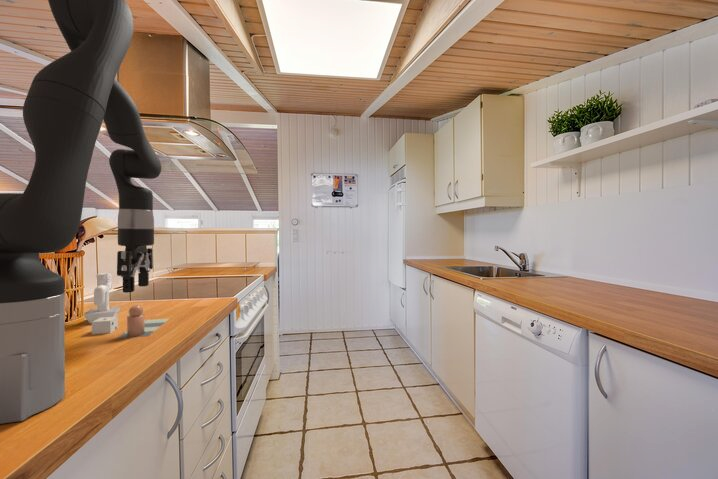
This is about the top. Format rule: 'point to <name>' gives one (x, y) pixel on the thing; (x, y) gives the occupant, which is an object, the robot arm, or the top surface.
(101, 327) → the die
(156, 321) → the board
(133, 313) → the pawn
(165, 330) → the top surface
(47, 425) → the top surface
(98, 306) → the figurine
